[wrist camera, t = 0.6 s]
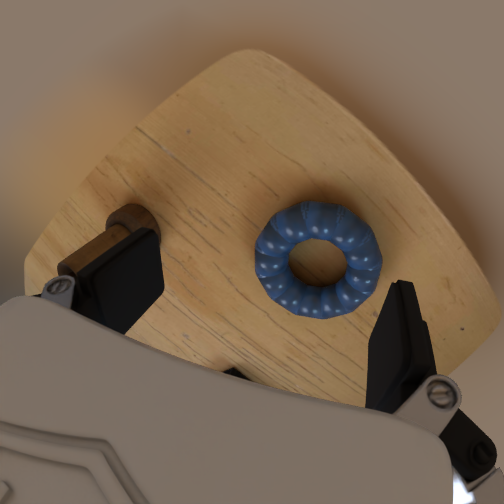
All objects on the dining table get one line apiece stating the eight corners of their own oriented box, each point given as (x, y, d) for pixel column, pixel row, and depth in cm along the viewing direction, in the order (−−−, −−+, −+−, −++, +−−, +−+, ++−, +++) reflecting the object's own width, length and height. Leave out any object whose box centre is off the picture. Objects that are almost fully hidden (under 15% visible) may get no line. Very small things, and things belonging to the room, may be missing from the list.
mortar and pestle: (124, 251, 34) (19, 341, 19) (112, 203, 31) (-12, 282, 16) (166, 257, 32) (54, 367, 17) (155, 203, 29) (16, 301, 14)
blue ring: (302, 171, 23) (296, 180, 20) (403, 248, 23) (409, 265, 20) (240, 263, 29) (229, 279, 26) (328, 322, 29) (325, 342, 27)
